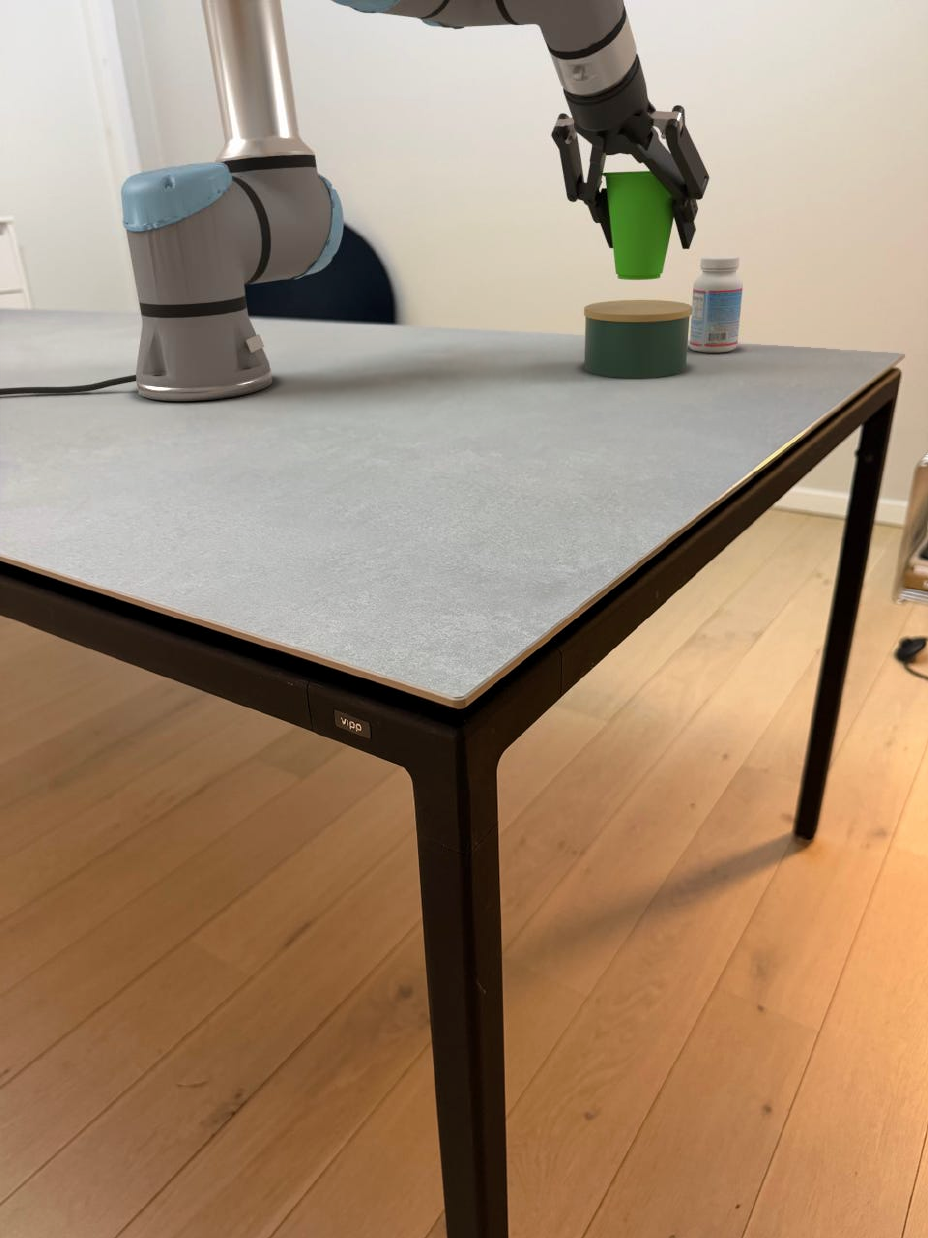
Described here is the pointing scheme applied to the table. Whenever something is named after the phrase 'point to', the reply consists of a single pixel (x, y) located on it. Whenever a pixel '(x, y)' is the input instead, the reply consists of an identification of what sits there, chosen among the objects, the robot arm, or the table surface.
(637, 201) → the cup
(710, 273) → the pill bottle
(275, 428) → the table surface
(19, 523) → the table surface
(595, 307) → the tin
